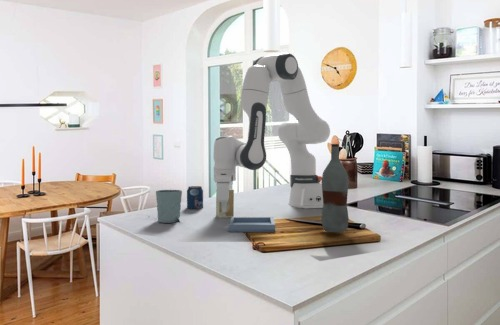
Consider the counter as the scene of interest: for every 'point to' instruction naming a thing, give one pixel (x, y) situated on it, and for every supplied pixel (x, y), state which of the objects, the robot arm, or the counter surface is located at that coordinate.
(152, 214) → the counter surface
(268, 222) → the slate tray
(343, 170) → the bottle
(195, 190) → the soda can
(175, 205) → the green tapered cup
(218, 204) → the skincare box
